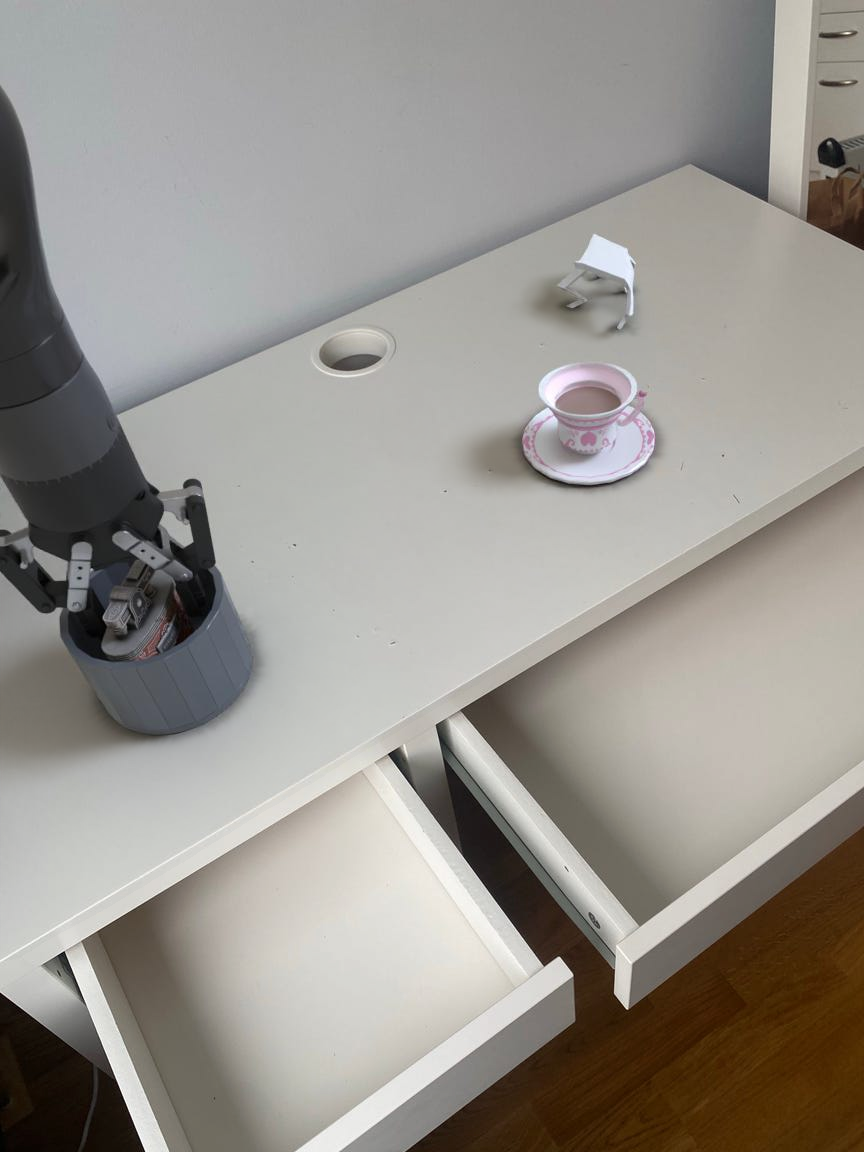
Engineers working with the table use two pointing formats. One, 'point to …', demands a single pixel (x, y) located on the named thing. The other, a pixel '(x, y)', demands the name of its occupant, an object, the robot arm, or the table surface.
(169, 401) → the table surface
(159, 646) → the lighter
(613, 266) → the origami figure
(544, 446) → the teacup
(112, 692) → the blue-grey round bin
